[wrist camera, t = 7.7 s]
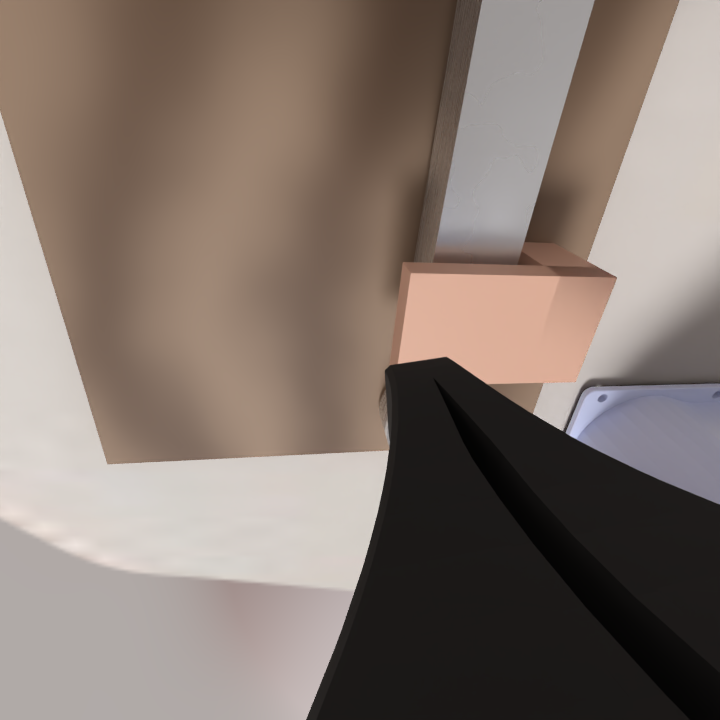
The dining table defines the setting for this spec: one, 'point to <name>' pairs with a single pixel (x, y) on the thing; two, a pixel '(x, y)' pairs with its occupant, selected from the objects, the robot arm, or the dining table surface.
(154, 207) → the base plate
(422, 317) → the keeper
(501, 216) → the link
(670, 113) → the dining table surface
